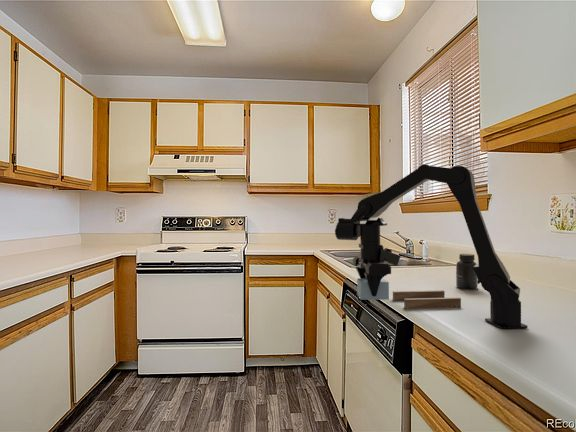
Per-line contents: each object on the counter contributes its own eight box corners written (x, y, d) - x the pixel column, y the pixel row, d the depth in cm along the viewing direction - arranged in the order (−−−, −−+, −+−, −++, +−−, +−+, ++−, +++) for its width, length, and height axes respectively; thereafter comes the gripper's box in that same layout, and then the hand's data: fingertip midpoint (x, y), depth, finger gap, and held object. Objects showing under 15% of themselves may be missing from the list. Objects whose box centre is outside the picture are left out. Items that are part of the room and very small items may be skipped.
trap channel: (460, 307, 98) (460, 298, 98) (405, 308, 98) (405, 299, 98) (442, 298, 109) (442, 290, 109) (392, 299, 108) (392, 291, 108)
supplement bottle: (453, 287, 124) (453, 254, 123) (460, 285, 128) (459, 252, 128) (474, 290, 119) (473, 256, 119) (480, 287, 123) (480, 254, 123)
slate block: (388, 299, 99) (388, 282, 99) (360, 299, 99) (360, 282, 99) (383, 294, 105) (383, 278, 105) (357, 294, 105) (357, 278, 105)
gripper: (409, 243, 93) (410, 300, 93) (386, 238, 112) (386, 286, 112) (369, 243, 93) (369, 301, 93) (352, 238, 111) (352, 287, 111)
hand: (370, 293), depth 102 cm, fingers closed on slate block, 6 cm apart
